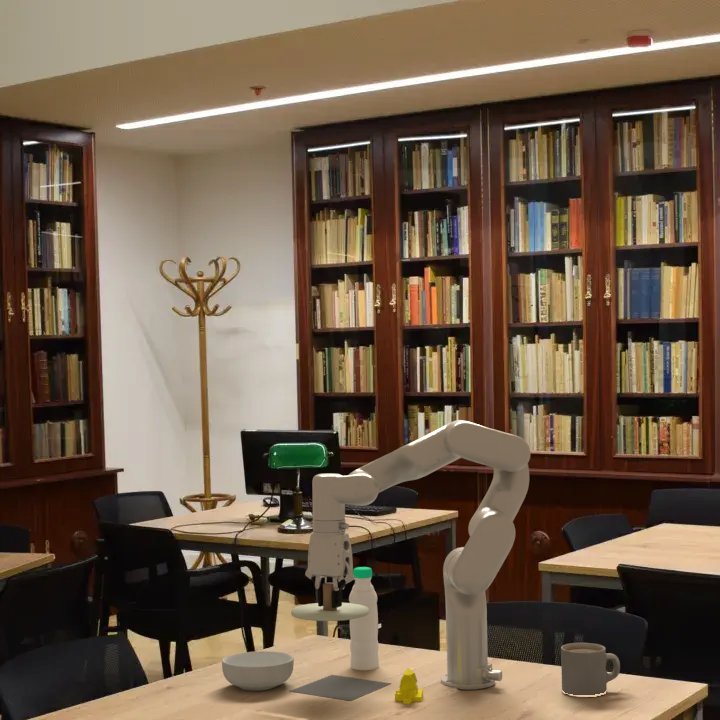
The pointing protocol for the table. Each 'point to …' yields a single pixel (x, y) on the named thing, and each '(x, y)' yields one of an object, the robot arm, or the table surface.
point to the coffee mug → (586, 668)
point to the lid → (329, 609)
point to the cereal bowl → (258, 669)
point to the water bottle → (364, 623)
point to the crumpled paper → (409, 689)
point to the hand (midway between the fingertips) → (330, 605)
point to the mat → (340, 687)
